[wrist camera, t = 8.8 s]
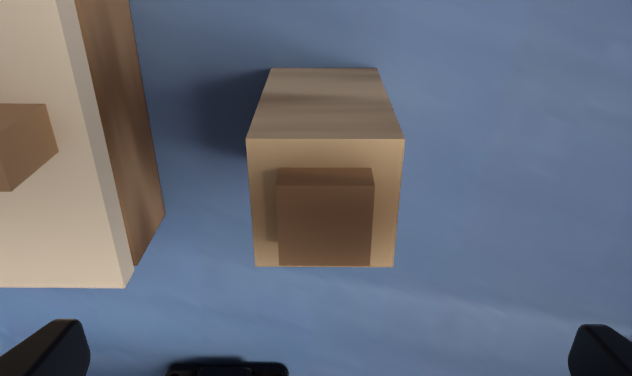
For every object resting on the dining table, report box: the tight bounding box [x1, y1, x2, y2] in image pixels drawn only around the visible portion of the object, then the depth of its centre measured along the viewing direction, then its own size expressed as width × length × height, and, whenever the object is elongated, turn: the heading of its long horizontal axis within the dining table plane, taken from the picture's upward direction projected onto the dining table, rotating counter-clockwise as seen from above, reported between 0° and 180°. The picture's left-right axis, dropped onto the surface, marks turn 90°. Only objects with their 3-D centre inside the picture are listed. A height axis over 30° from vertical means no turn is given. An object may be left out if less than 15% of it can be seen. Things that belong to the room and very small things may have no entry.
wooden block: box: [246, 68, 405, 267], centre depth 16 cm, size 4×4×8 cm
